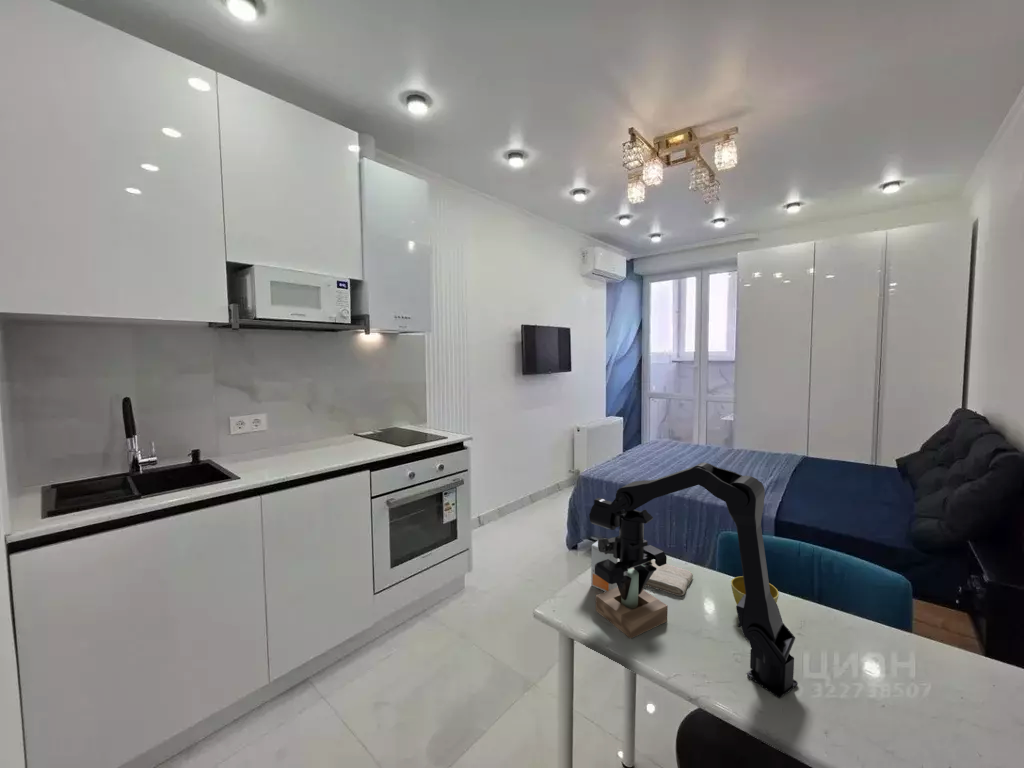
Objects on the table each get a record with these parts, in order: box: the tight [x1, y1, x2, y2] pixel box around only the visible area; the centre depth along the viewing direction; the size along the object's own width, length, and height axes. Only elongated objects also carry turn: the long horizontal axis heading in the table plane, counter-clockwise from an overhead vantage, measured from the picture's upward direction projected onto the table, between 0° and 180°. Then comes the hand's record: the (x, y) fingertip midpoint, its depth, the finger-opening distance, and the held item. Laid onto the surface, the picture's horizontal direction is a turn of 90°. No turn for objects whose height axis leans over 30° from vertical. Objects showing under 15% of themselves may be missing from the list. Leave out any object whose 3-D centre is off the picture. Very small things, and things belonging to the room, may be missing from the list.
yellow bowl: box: [730, 575, 780, 605], centre depth 104 cm, size 10×10×7 cm
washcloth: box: [631, 559, 694, 597], centre depth 122 cm, size 12×18×3 cm, turn 55°
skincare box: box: [590, 540, 619, 592], centre depth 117 cm, size 6×4×12 cm
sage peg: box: [621, 569, 639, 609], centre depth 104 cm, size 4×4×8 cm
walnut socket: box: [595, 586, 669, 639], centre depth 105 cm, size 12×12×4 cm
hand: (631, 596), depth 104 cm, fingers open, 4 cm apart
